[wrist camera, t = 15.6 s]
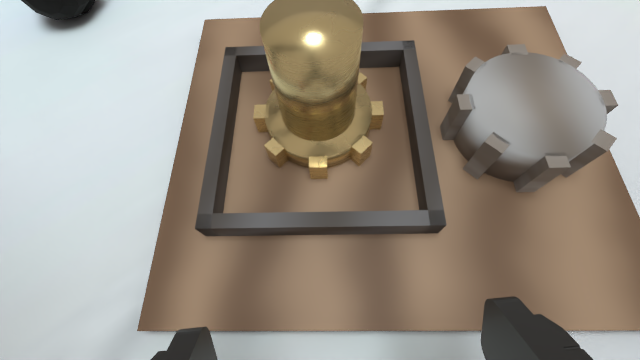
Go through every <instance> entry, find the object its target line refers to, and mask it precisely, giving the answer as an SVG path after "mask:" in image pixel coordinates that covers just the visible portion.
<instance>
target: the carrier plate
mask: <svg viewBox="0 0 640 360" xmlns="http://www.w3.org/2000/svg"><path fill="white" fill-rule="evenodd" d="M362 15H363V33H362V43H361V54H360V65H359V72H360V73H362V74H363V75H365V76H366V77H367V84H366V92H367V94H368V96H369V98H370V101H382V102H383V111H384V116H383V121H382V125H381V129H372V130H369V135H368V139H369V140H370V141H372V142H373V144H372V149H371V154H370V156H369V157H368V158H367V159H366V160H365V161H364V162H363V163H362V164H361V165H360V166H358V165H357V164H356V163H354V162H353V161H352V160H351V159H350V160H348V161H347V162H345V163H343V164H341V165H338V166H335V167H331V168H328V179H311V177H310V171H309V168H305V167H301V166H298V165H296V164H293V163H291V162H290V161H287V162H286V163H285V164H284V165H283V166H282V167H280V168H279V167H278V166H277V165H276V164H275V163H274V162H273V161H272V160H271V159H269V157H268V154H267V152H266V149H265V147H264V145H265V144H266V143H267V142H268V141H270V140H271V137H270V135H269V132H258V129H257V127H256V124H255V122H254V119H253V116H254V106H255V105H265V104H266V103H267V100H268V98H269V96H270V94H271V93H272V89H271V85H270V81H269V80H271V79H272V77H271V73H270V69H269V65H268V61H267V57H266V54H265V50H264V46H263V42H262V38H261V34H260V19H261V18H237V19H211V20H205V22H204V26H203V31H202V35H201V40H200V45H199V49H198V54H197V58H196V63H195V68H194V72H193V77H192V81H191V86H190V91H189V95H188V100H187V104H186V109H185V114H184V118H183V123H182V127H181V132H180V137H179V141H178V146H177V150H176V155H175V160H174V164H173V169H172V173H171V178H170V183H169V187H168V192H167V196H166V201H165V206H164V210H163V215H162V219H161V224H160V229H159V233H158V238H157V242H156V247H155V252H154V256H153V261H152V265H151V270H150V275H149V279H148V284H147V288H146V293H145V298H144V302H143V307H142V311H141V316H140V321H139V325H138V330H137V331H178V330H180V329H186V328H196V327H207V328H208V329H209V331H482V323H483V313H484V304H485V301H486V300H487V299H491V298H501V297H511V296H515V297H517V298H519V299H520V300H521V301H522V302H523V303H524V304H525V306H526V307H527V308H528V309H529V310H530V311H531V312H532V313H533V314H542V315H543V316H545V317H546V318H548V319H550V320H551V321H553V322H554V323H556V324H557V325H559V326H560V327H562V328H563V329H564V330H565V331H594V330H640V217H639V215H638V213H637V211H636V208H635V206H634V204H633V202H632V199H631V197H630V195H629V193H628V190H627V188H626V186H625V184H624V181H623V179H622V177H621V175H620V172H619V170H618V168H617V166H616V163H615V161H614V159H613V157H612V154H611V152H610V150H609V149H610V147H611V146H612V144H613V143H614V142H615V140H616V139H617V138H615V137H614V136H612V135H610V134H608V133H607V132H605V131H604V129H605V126H606V121H607V114H608V113H609V112H610V111H612V110H613V109H614V108H615V107H617V106H618V104H617V102H616V100H615V98H614V96H613V94H612V92H611V90H597V88H596V87H595V85H594V84H593V83H592V82H591V81H590V80H589V79H588V78H587V77H586V76H585V75H584V74H582V73H581V72H580V71H578V70H577V69H576V68H577V67H578V66H579V65H580V64H581V63H582V62H580V61H578V60H576V59H574V58H572V57H570V56H568V55H567V53H566V51H565V49H564V46H563V44H562V42H561V40H560V37H559V35H558V33H557V31H556V28H555V26H554V24H553V22H552V19H551V17H550V15H549V13H548V10H547V8H546V6H541V7H516V8H490V9H465V10H439V11H414V12H389V13H363V14H362Z"/></svg>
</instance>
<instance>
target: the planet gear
mask: <svg viewBox="0 0 640 360" xmlns="http://www.w3.org/2000/svg"><path fill="white" fill-rule="evenodd" d="M362 33H363V15H362V12H361V10H360V8H359V7H358V5H357V4H356V3H355V2H354V1H353V0H274V1H273V2H272V3H271V4H270V5H269V6H268V7H267V8H266V9H265V11H264V13H263V14H262V17H261V19H260V34H261V38H262V42H263V46H264V50H265V54H266V57H267V61H268V65H269V69H270V73H271V77H272V79H271V80H269V81H270V85H271V89H272V93H271V94H270V96H269V98H268V100H267V103H266V104H265V105H255V106H254V116H253V119H254V122H255V124H256V127H257V129H258V132H269V135H270V137H271V140H270V141H268V142H267V143H266V144H265V145H264V147H265V149H266V152H267V154H268V157H269V159H271V160H272V161H273V162H274V163H275V164H276V165H277V166H278V167H279V168H280V167H282V166H283V165H284V164H285V163H286V162H287V161H290V162H291V163H293V164H296V165H298V166H301V167H305V168H309V171H310V177H311V179H328V168H331V167H335V166H338V165H341V164H343V163H345V162H347V161H348V160H350V159H351V160H352V161H353V162H354V163H356V164H357V165H358V166H360V165H361V164H362V163H363V162H364V161H365V160H366V159H367V158H368V157H369V156H370V154H371V149H372V144H373V142H372V141H370V140H369V139H368V135H369V130H372V129H381V125H382V121H383V116H384V111H383V102H382V101H370V98H369V96H368V94H367V92H366V84H367V77H366V76H365V75H363V74H362V73H360V72H359V65H360V54H361V43H362Z"/></svg>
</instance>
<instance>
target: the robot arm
mask: <svg viewBox="0 0 640 360" xmlns="http://www.w3.org/2000/svg"><path fill="white" fill-rule="evenodd" d="M481 346H482V350H483V354H484V356H485V359H486V360H593V359H592V358H591V357H590V356H589V355H588V354H587V353H586V352H585V351H584V350H583V349H581V348H580V345H579V344H578V343H577V342H576V341H575V340H574V339H573V338H572V337H571V336H570V335H569V334H568V333H567V332H566V331H565V330H564V329H563V328H562V327H560V326H559V325H557V324H556V323H554V322H553V321H551V320H550V319H548V318H546V317H545V316H543V315H542V314H533V313H532V312H531V311H530V310H529V309H528V308H527V307H526V306H525V304H524V303H523V302H522V301H521V300H520V299H519V298H517V297H515V296H511V297H501V298H491V299H487V300H486V301H485V304H484V313H483V323H482V333H481ZM151 360H217V356H216V353H215V349H214V345H213V342H212V338H211V335H210V331H209V329H208V328H207V327H196V328H186V329H180V330H178V331H177V332H176V334H175V336H174V338H173V340H172V342H171V344H170V346H169V348H168V350H167V351H159V352H157V354H156V355H155V356H154V357H153V358H152V359H151Z"/></svg>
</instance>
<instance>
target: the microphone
mask: <svg viewBox="0 0 640 360" xmlns="http://www.w3.org/2000/svg"><path fill="white" fill-rule="evenodd" d="M21 1H23V2H24V3H25V4H26V5H28V6H29V7H30V8H31V9H33V10H34V11H35V12H36V13H39V14H42V15H45V16H48V17H50V18H53V19H56V20H59V19H66V18H73V17H76V16H79V15H80V14H85V13H88V12H89V10H90V8H91V7H92V5H93V3H94V2H95V0H21Z"/></svg>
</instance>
